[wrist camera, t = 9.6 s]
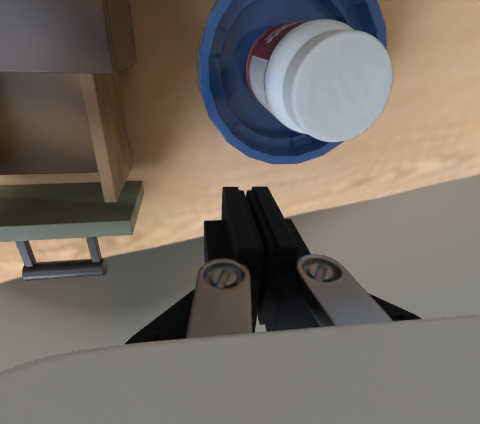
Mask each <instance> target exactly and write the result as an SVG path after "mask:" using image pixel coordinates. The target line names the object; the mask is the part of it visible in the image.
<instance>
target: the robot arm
mask: <svg viewBox="0 0 480 424" xmlns="http://www.w3.org/2000/svg"><path fill="white" fill-rule="evenodd" d="M204 259H205V264H204V265H203V266H202V267H201V268H200V270H199V272H198V276H197V281H196V287H195V289H194V290H193V291H191V292H190V293H189V294H187V295H186V296H185V297H183V298H182V299H181V300H179V301H178V302H177V303H175V304H174V305H173V306H172V307H170V308H169V309H168V310H166V311H165V312H164V313H162V314H161V315H160V316H159V317H157V318H156V319H155V320H153V321H152V322H151V323H150V324H148V325H147V326H146V327H144V328H143V329H141V330H140V331H139V332H137V333H136V334H135V335H134V336H132V337H131V338H130V339H129V340H128V341H127V342H126V343H125V345H117V346H109V347H102V348H93V349H85V350H78V351H73V352H68V353H63V354H57V355H53V356H49V357H45V358H42V359H38V360H34V361H31V362H27V363H24V364H21V365H18V366H15V367H13V368H10V369H7V370H5V371H2V372H0V424H480V315H470V316H456V317H443V318H430V319H422V318H420V317H418V316H416V315H415V314H413V313H410V312H408V311H406V310H404V309H402V308H399V307H397V306H395V305H393V304H391V303H388V302H386V301H384V300H382V299H380V298H378V297H375V296H373V295H371V294H369V293H367V292H366V291H365V289H364V288H363V287H362V286H361V285H360V284H359V283H358V282H357V281H356V280H355V278H354V277H353V276H352V275H351V274H350V273H349V272H348V271H347V270H346V269H345V268H344V266H343V265H341V264H340V263H339V262H338V261H336V260H334V259H333V258H330V257H327V256H324V255H318V254H310V252H309V250H308V248H307V247H306V245H305V243H304V241H303V239H302V238H301V236H300V234H299V232H298V231H297V229H296V227H295V225H294V224H293V222H292V220H291V219H284V217H283V215H282V213H281V211H280V209H279V207H278V206H277V204H276V202H275V200H274V198H273V196H272V194H271V192H270V191H269V189H268V187H252V190H249V191H247V194H246V196H245V194H244V191H239V189H238V187H223V192H222V220H214V221H204ZM257 316H258V320H259V323H260V325H262V324H265V326H266V331H267V332H257V333H255V326H256V319H257Z"/></svg>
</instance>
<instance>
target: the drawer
mask: <svg viewBox="0 0 480 424" xmlns="http://www.w3.org/2000/svg"><path fill="white" fill-rule="evenodd" d="M130 170H131V161H130V155H129V148H128V141H127V135H126V128H125V121H124V115H123V108H122V101H121V95H120V88H119V81H118V74H117V72H116V73H114V74H87V73H32V72H0V175H12V174H51V173H89V172H99V177H100V181H101V182H92V183H59V184H26V185H0V242H7V241H15V242H16V244H17V247H18V249H19V252H20V254H21V257H22V260H23V262H24V267H23V270H22V275H23V278H24V280H26V281H29V280H43V279H57V278H70V277H85V276H99V275H106V273H107V261H106V258H102V257H101V253H100V248H99V244H98V240H97V237H99V236H118V235H132V234H133V231H134V228H135V224H136V220H137V217H138V213H139V210H140V206H141V202H142V199H143V195H144V188H143V181H126V179H127V177H128V175H129V172H130ZM81 237H86V239H87V243H88V247H89V250H90V254H91V258H92V259H82V260H67V261H51V262H36V260H35V257H34V254H33V252H32V249H31V246H30V244H29V241H28V240H44V239H63V238H81Z"/></svg>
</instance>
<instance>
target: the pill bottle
mask: <svg viewBox="0 0 480 424" xmlns="http://www.w3.org/2000/svg"><path fill="white" fill-rule="evenodd" d="M246 77H247V82H248V86H249V88H250V90H251V92H252V94H253V95H254V97H255V98H256V99H257V100H258V101H259V102H260V103H261V104H262V105H263V106H264V107H265V108H266V109H267V110H269V111H270V112H271V113H272V114H273V115H274V116H275V117H276V118H277V119H278V120H279V121H280V122H281V123H282V124H283V125H285V126H286V127H288V128H290V129H292V130H294V131H296V132H299V133H303V134H309V135H310V136H312V137H314V138H316V139H318V140H321V141H325V142H340V141H345V140H348V139H351V138H353V137H356V136H357V135H359V134H361V133H362V132H364V131H365V130H366V129H368V128H369V127H370V126H371V125H372V124H373V123H374V122H375V121H376V119H377V118H378V117H379V115H380V114H381V113H382V111H383V109H384V108H385V106H386V104H387V101H388V99H389V96H390V93H391V88H392V82H393V69H392V63H391V59H390V56H389V54H388V52H387V50H386V49H385V47H384V46H383V45H382V43H381V42H380V41H379V40H378V39H376V38H375V37H374V36H372V35H370V34H368V33H366V32H363V31H358V30H354V29H352V28H351V27H350V26H348V25H346V24H344V23H342V22H339V21H336V20H330V19H320V20H310V21H300V22H293V23H285V24H280V25H277V26H274V27H272V28H270V29H268V30H266V31H265V32H264V33H262V34H261V35H260V36H259V38H258V39H257V40H256V41H255V43H254V44H253V46H252V48H251V50H250V52H249V55H248V58H247V63H246Z"/></svg>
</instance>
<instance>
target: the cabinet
mask: <svg viewBox="0 0 480 424" xmlns="http://www.w3.org/2000/svg"><path fill="white" fill-rule="evenodd" d="M136 62H137V59H136V50H135V42H134V34H133V25H132V17H131V8H130V0H0V72H32V73H87V74H114V73H116V72H118V71H120V70H122V69H124V68H126V67H128V66H130V65H132V64H134V63H136Z"/></svg>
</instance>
